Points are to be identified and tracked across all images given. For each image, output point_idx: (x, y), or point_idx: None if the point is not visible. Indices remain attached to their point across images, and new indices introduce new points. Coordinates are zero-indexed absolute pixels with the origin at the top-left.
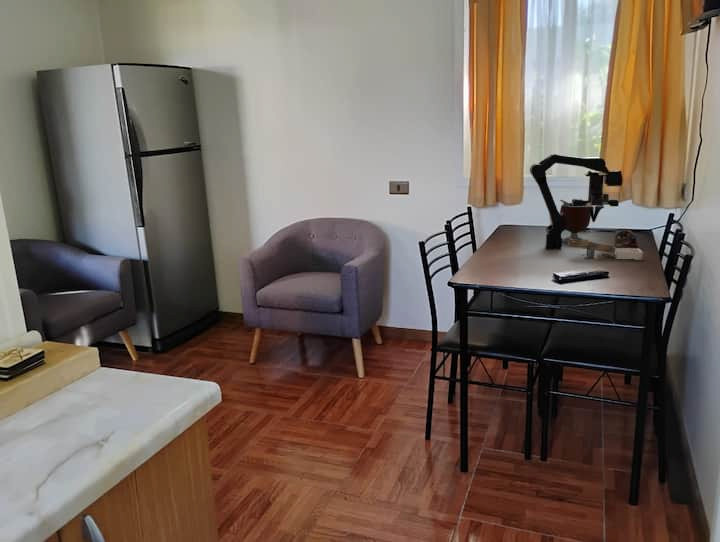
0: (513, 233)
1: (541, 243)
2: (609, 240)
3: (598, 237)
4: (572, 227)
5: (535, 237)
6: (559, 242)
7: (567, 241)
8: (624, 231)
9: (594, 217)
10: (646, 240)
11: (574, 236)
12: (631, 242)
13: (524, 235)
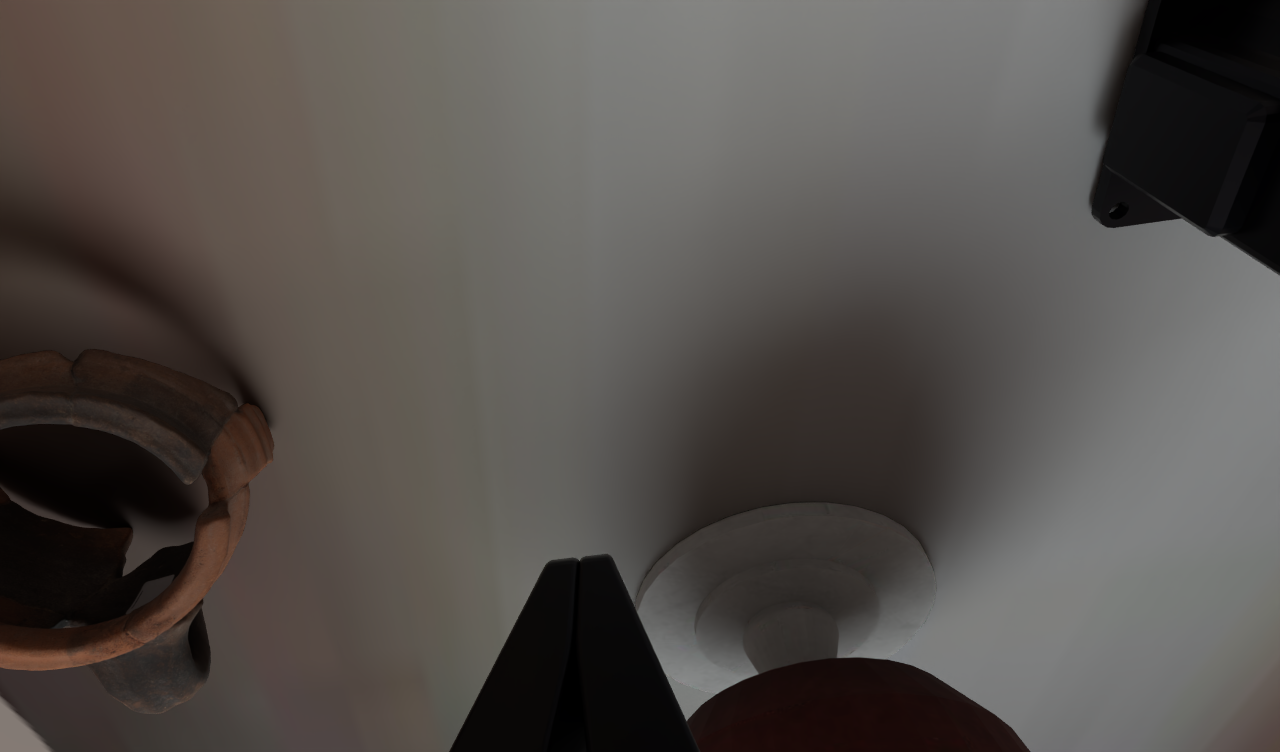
0: (1270, 731)
1: (1239, 397)
2: (400, 649)
3: None
4: (896, 687)
5: (1147, 643)
6: (1257, 57)
7: (879, 519)
8: (50, 635)
9: (556, 697)
10: (26, 703)
11: (795, 625)
12: (73, 538)
13: (1212, 690)
